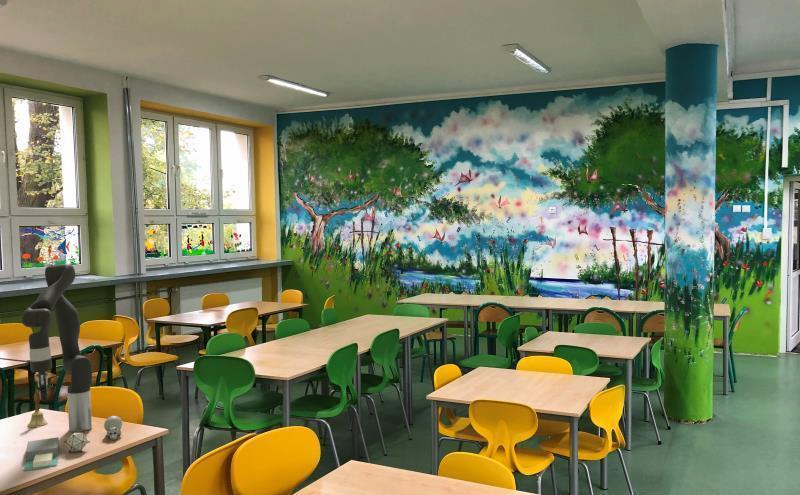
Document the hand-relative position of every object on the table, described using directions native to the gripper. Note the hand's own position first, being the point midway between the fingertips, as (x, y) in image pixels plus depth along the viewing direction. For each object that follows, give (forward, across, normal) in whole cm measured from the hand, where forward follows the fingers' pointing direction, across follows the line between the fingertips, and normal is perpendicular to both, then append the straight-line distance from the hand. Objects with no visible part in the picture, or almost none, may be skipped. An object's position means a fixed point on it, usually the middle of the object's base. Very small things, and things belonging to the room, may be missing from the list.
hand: (44, 400), depth 265 cm
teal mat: (+21, -14, +3) cm, 25 cm away
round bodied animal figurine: (+23, +7, -25) cm, 34 cm away
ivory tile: (+21, -13, +2) cm, 25 cm away
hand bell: (+22, +45, +5) cm, 50 cm away
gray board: (+21, -2, +2) cm, 22 cm away
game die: (+22, -5, -10) cm, 25 cm away
